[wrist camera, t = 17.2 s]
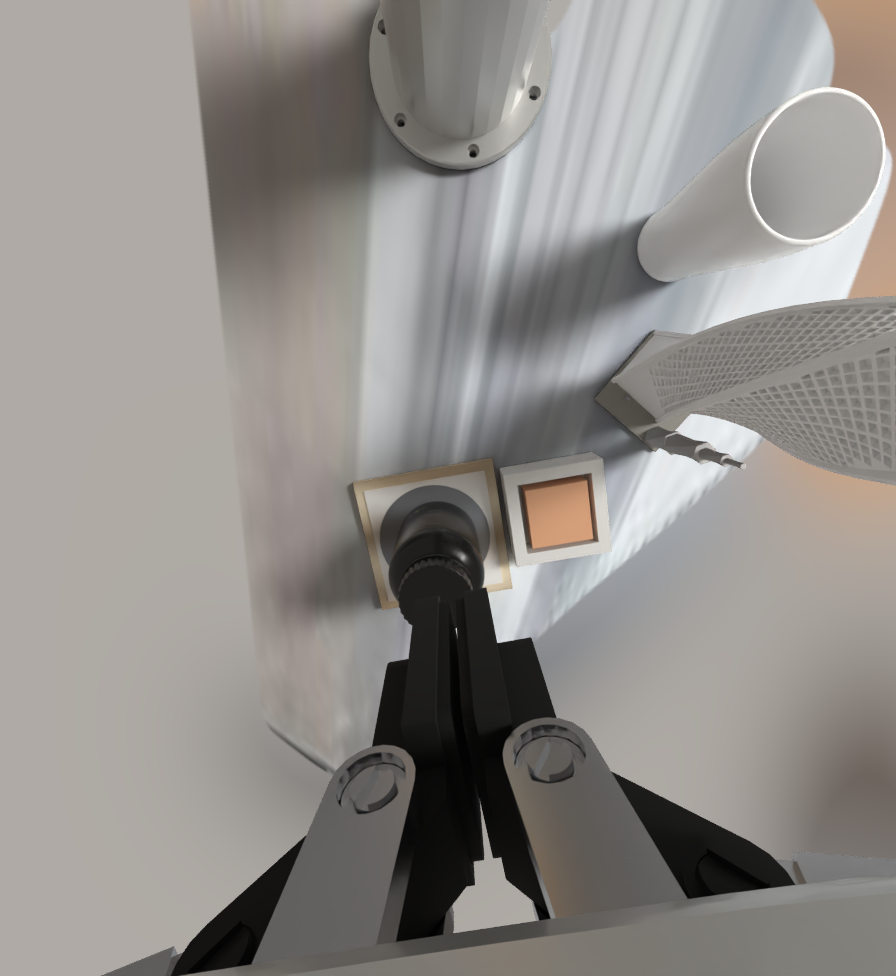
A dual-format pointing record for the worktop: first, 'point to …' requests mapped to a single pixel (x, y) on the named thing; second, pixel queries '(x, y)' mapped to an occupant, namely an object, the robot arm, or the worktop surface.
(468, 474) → the cream square coaster
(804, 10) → the worktop surface
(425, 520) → the supplement bottle
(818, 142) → the drinking glass
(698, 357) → the skyscraper
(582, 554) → the button housing
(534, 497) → the button
